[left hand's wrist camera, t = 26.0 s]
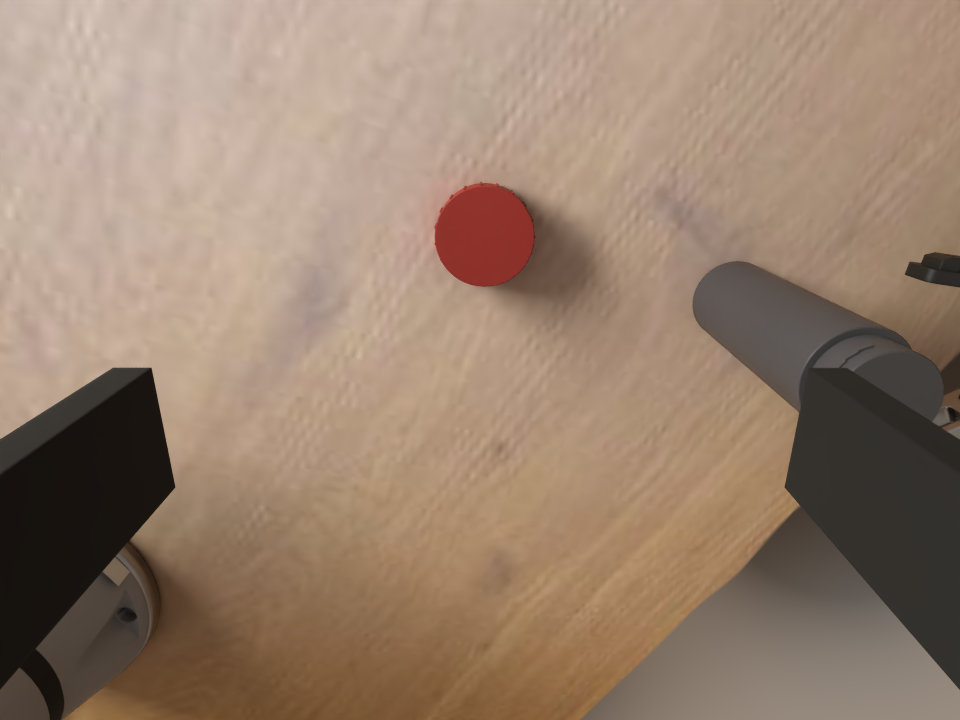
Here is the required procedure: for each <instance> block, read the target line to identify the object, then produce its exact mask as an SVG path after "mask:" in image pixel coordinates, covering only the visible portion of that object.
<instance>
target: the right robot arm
mask: <svg viewBox="0 0 960 720" xmlns="http://www.w3.org/2000/svg"><path fill="white" fill-rule="evenodd" d="M905 275H907V276H910V277H913V278H916V279H919V280H922V281H925V282H930V283H934V284H941V285H948V286H954V287H960V256H956V255H949V254H943V253H936V252H935V253H930V254H926V255H924V258H923V260H922V263H916V262H909V265H908V267H907V270H906V272H905ZM933 423H935V424H936V425H938V426H939V427H941V426H944V425H946V424H948V423H951V424H949V425H947V426H945V427H942V428H943V429H944V430H946V431H947V432H949V433H950V434H952V435H954V436H955V437H957V438H958V439H960V388H959V389H957V390H955V391H952V392H950V393H948V394H946V395H944V397H943V402H942V405H941V408H940V410H939V412H938V414H937V416H936V417H935V419H934V420H933Z"/></svg>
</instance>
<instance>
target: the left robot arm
mask: <svg viewBox="0 0 960 720" xmlns="http://www.w3.org/2000/svg"><path fill="white" fill-rule="evenodd" d="M174 488H175V483H174V478H173V473H172V468H171V463H170V458H169V453H168V448H167V443H166V438H165V433H164V428H163V423H162V418H161V413H160V408H159V403H158V398H157V393H156V388H155V383H154V378H153V373H152V368H112V369H111V370H109V371H107V372H106V373H104V374H103V375H101V376H99V377H98V378H96V379H95V380H93V381H92V382H90V383H88V384H87V385H85V386H84V387H82V388H81V389H79V390H77V391H76V392H74V393H73V394H71V395H70V396H68V397H66V398H65V399H63V400H62V401H60V402H58V403H57V404H55V405H54V406H52V407H51V408H49V409H47V410H46V411H44V412H43V413H41V414H40V415H38V416H36V417H35V418H33V419H32V420H30V421H29V422H27V423H25V424H24V425H22V426H21V427H19V428H17V429H16V430H14V431H13V432H11V433H10V434H8V435H6V436H5V437H3V438H2V439H0V720H63V719H64V718H65V717H66V716H68V715H69V714H70V713H71V712H73V711H74V710H75V709H76V708H78V707H79V706H80V705H81V704H83V703H84V702H85V701H86V700H88V699H89V698H90V697H91V696H93V695H94V694H95V693H96V692H98V691H99V690H100V689H101V688H103V687H104V686H105V685H106V684H108V683H109V682H110V681H111V680H113V679H114V678H115V677H116V676H118V675H119V674H120V673H121V672H123V671H124V670H125V669H126V668H127V667H128V666H129V665H130V664H131V663H132V662H133V661H134V660H135V659H136V658H137V656H138V655H139V654H140V652H141V651H142V649H143V648H144V646H145V645H146V643H147V642H148V640H149V639H150V637H151V636H152V634H153V632H154V630H155V628H156V625H157V622H158V618H159V612H160V599H159V593H158V589H157V586H156V582H155V580H154V578H153V575H152V573H151V571H150V570H149V568H148V566H147V565H146V563H145V562H144V560H143V559H142V558H141V556H140V555H139V554H138V553H137V551H136V550H135V549H134V548H133V547H132V546H131V545H130V544H129V543H128V541H129V540H130V539H131V538H132V537H133V536H134V535H135V533H136V532H137V531H138V530H139V529H140V528H141V526H142V525H143V524H144V523H145V522H146V521H147V520H148V518H149V517H150V516H151V515H152V514H153V513H154V511H155V510H156V509H157V508H158V507H159V506H160V505H161V503H162V502H163V501H164V500H165V499H166V498H167V496H168V495H169V494H170V493H171V492H172V491H173V489H174ZM785 488H786V489H787V491H788V492H789V493H790V494H791V495H792V496H793V498H794V499H795V500H796V501H797V502H798V503H799V505H800V506H801V507H802V508H803V509H804V510H805V511H806V513H807V514H808V515H809V516H810V517H811V518H812V519H813V521H814V522H815V523H816V524H817V525H818V526H819V528H820V529H821V530H822V531H823V532H824V533H825V535H826V536H827V537H828V538H829V539H830V540H831V541H832V543H833V544H834V545H835V546H836V547H837V548H838V550H839V551H840V552H841V553H842V554H843V555H844V556H845V558H846V559H847V560H848V561H849V562H850V563H851V565H852V566H853V567H854V568H855V569H856V570H857V571H858V573H859V574H860V575H861V576H862V577H863V578H864V580H865V581H866V582H867V583H868V584H869V585H870V587H871V588H872V589H873V590H874V591H875V592H876V594H877V595H878V596H879V597H880V598H881V599H882V600H883V602H884V603H885V604H886V605H887V606H888V607H889V609H890V610H891V611H892V612H893V613H894V614H895V615H896V617H897V618H898V619H899V620H900V621H901V622H902V624H903V625H904V626H905V627H906V628H907V629H908V630H909V632H910V633H911V634H912V635H913V636H914V637H915V639H916V640H917V641H918V642H919V643H920V644H921V646H922V647H923V648H924V649H925V650H926V651H927V652H928V654H929V655H930V656H931V657H932V658H933V659H934V661H935V662H936V663H937V664H938V665H939V666H940V667H941V669H942V670H943V671H944V672H945V673H946V674H947V676H948V677H949V678H950V679H951V680H952V681H953V683H954V684H955V685H956V686H957V687H958V688H959V689H960V439H958V438H957V437H955V436H954V435H952V434H950V433H949V432H947V431H946V430H944V429H943V428H941V427H939V426H938V425H936V424H935V423H933V422H931V421H930V420H928V419H927V418H925V417H924V416H922V415H920V414H919V413H917V412H916V411H914V410H913V409H911V408H909V407H908V406H906V405H905V404H903V403H902V402H900V401H898V400H897V399H895V398H894V397H892V396H890V395H889V394H887V393H886V392H884V391H883V390H881V389H879V388H878V387H876V386H875V385H873V384H872V383H870V382H868V381H867V380H865V379H864V378H862V377H861V376H859V375H857V374H856V373H854V372H853V371H851V370H849V369H848V368H808V373H807V378H806V383H805V388H804V393H803V398H802V403H801V408H800V413H799V418H798V423H797V428H796V433H795V438H794V443H793V448H792V453H791V458H790V463H789V468H788V473H787V478H786V483H785Z"/></svg>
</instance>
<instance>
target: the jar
mask: <svg viewBox="0 0 960 720" xmlns="http://www.w3.org/2000/svg"><path fill="white" fill-rule="evenodd" d="M693 312H694V316H695V318H696V321H697V322H698V324H699V325H700V326H701V327H702V328H703V329H704V330H705V331H706V332H707V333H708V334H710V335H711V336H712V337H713V338H714V339H715V340H716V341H718V342H719V343H720V344H721V345H722V346H723V347H724V348H726V349H727V350H728V351H729V352H730V353H731V354H733V355H734V356H735V357H736V358H737V359H738V360H739V361H741V362H742V363H743V364H744V365H745V366H746V367H748V368H749V369H750V370H751V371H752V372H753V373H754V374H756V375H757V376H758V377H759V378H760V379H761V380H762V381H764V382H765V383H766V384H767V385H768V386H769V387H771V388H772V389H773V390H774V391H775V392H776V393H777V394H779V395H780V396H781V397H782V398H783V399H784V400H786V401H787V402H788V403H789V404H790V405H791V406H792V407H794V408H795V409H796V410H797V411H798V412H799V413H800V408H801V403H802V398H803V393H804V388H805V383H806V378H807V373H808V368H848V369H849V370H851V371H853V372H854V373H856V374H857V375H859V376H861V377H862V378H864V379H865V380H867V381H868V382H870V383H872V384H873V385H875V386H876V387H878V388H879V389H881V390H883V391H884V392H886V393H887V394H889V395H890V396H892V397H894V398H895V399H897V400H898V401H900V402H902V403H903V404H905V405H906V406H908V407H909V408H911V409H913V410H914V411H916V412H917V413H919V414H920V415H922V416H924V417H925V418H927V419H928V420H930V421H931V422H933V420H934V419H935V417H936V416H937V414H938V412H939V410H940V408H941V405H942V402H943V397H944V383H943V379H942V376H941V374H940V372H939V370H938V368H937V367H936V365H935V364H934V363H933V362H932V361H931V360H929V359H928V358H926V357H925V356H923V355H921V354H919V353H917V352H915V351H913V350H912V349H911V347H910V345H909V344H908V343H907V341H906V340H905V339H904V338H903V337H902V336H900V335H899V334H897V333H896V332H894V331H892V330H890V329H887V328H885V327H883V326H881V325H879V324H877V323H875V322H873V321H871V320H869V319H866V318H864V317H862V316H860V315H858V314H856V313H854V312H852V311H850V310H847V309H845V308H843V307H841V306H839V305H837V304H835V303H833V302H831V301H828V300H826V299H824V298H822V297H820V296H818V295H816V294H814V293H812V292H809V291H807V290H805V289H803V288H801V287H799V286H797V285H795V284H793V283H791V282H788V281H786V280H784V279H782V278H780V277H778V276H776V275H774V274H772V273H769V272H767V271H765V270H763V269H761V268H759V267H757V266H755V265H753V264H750V263H747V262H729V263H725V264H722V265H720V266H718V267H716V268H714V269H713V270H711V271H710V272H709V273H708V274H707V275H706V276H705V277H704V278H703V279H702V280H701V282H700V283H699V285H698V286H697V289H696V291H695V294H694V298H693Z"/></svg>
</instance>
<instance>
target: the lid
mask: <svg viewBox="0 0 960 720" xmlns="http://www.w3.org/2000/svg"><path fill="white" fill-rule="evenodd" d="M525 206H526V205H525V203H524V202H521V200H520V199H519V198H518V197H517V196H516V195H515V194H514V192H513V191H512V190H511V191H509V190H508V189H506V188H504V187H501V186H499V185H498V184H497V183H496V185H495V184H488V183H482V182H480V184H474V185H471V186H468V187H466V186H464V188H463V189H461V190H460V191H458V192H457V193H455V194H454V195H451V196H450V199H449V200H448V201H447V203H446V204H445V206H444V207H443V208H441V210H440V216H439V218H438V221H437V223H436V225H435V245H436V249H437V252H438V255H439V257H440V260H441V261H442V263H443V265H444V266H445V267H446V269H447V270H448V271H449V272H450V273H451V274H452V275H453V276H455V277H456V278H458V279H459V280H461V281H463V282H465V283H468V284H471V285H475V286H483V287H484V286H494V285H498V284H501V283H504V282H506V281H508V280H510V279H511V278H513V277H514V276H516V275H517V274H518V273H519V272H520V271H521V270H522V269H523V268H524V266H525V265H526V263H527V262H528V260H529V258H530V256H531V254H532V250H533V246H534V238H535V235H534V227H533V223H532V222H533V219H532V218H531V216H530V215H529V213H528V211H527V209H526V208H525Z"/></svg>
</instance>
